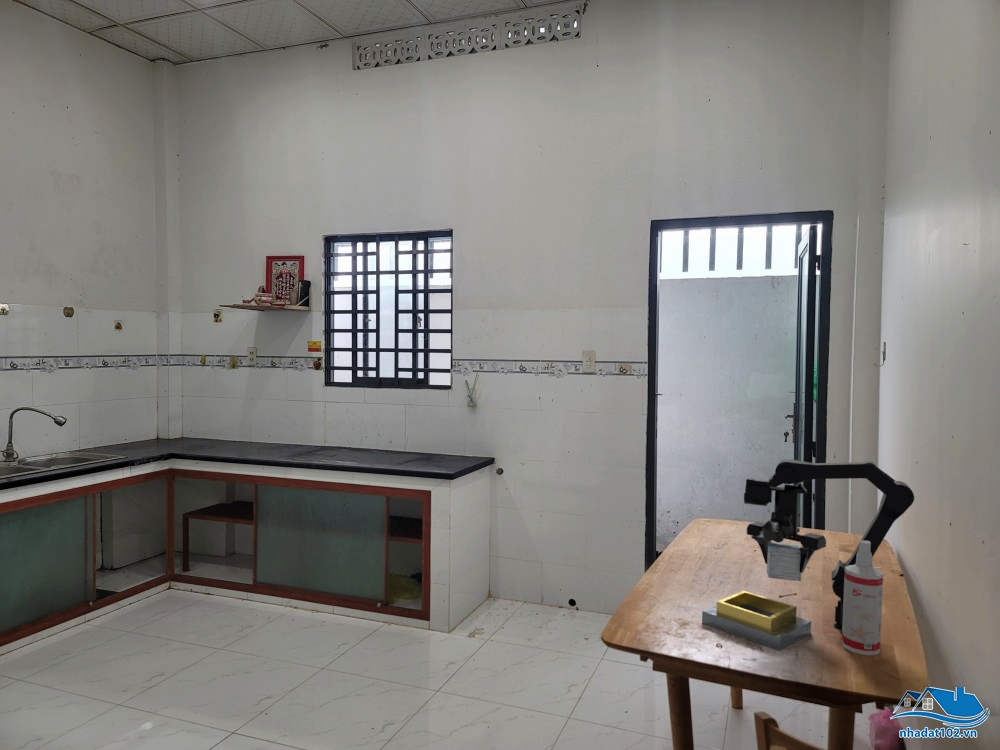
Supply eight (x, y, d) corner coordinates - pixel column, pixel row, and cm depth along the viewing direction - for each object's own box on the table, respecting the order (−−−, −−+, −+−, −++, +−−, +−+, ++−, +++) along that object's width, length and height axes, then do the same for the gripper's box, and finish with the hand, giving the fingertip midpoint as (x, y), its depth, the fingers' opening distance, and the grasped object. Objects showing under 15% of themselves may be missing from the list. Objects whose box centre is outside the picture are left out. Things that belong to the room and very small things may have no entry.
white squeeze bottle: (867, 641, 158) (872, 537, 158) (886, 655, 151) (891, 546, 150) (835, 640, 158) (839, 536, 157) (853, 654, 151) (857, 545, 150)
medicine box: (798, 576, 174) (799, 543, 174) (801, 582, 170) (802, 548, 170) (766, 573, 176) (767, 540, 176) (768, 578, 172) (769, 545, 172)
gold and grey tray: (810, 633, 162) (811, 609, 162) (779, 650, 151) (780, 624, 151) (734, 608, 177) (735, 586, 177) (701, 623, 166) (702, 599, 166)
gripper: (737, 505, 174) (734, 564, 175) (808, 519, 160) (806, 584, 161) (758, 500, 182) (755, 557, 182) (828, 513, 168) (825, 575, 168)
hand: (783, 568), depth 173 cm, fingers closed on medicine box, 9 cm apart
